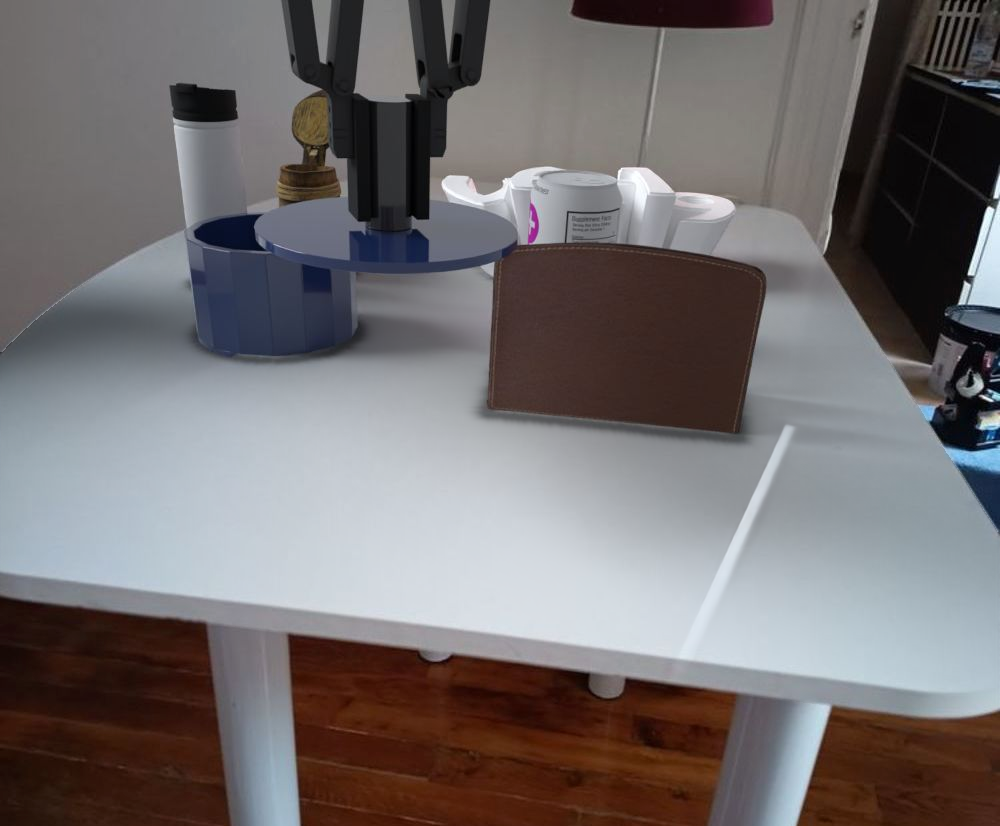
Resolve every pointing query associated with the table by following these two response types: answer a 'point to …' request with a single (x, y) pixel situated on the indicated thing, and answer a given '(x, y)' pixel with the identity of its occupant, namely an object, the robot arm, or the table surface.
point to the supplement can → (574, 208)
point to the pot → (263, 294)
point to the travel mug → (208, 151)
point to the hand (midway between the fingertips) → (388, 214)
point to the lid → (387, 216)
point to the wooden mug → (309, 156)
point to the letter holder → (624, 334)
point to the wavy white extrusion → (644, 214)
